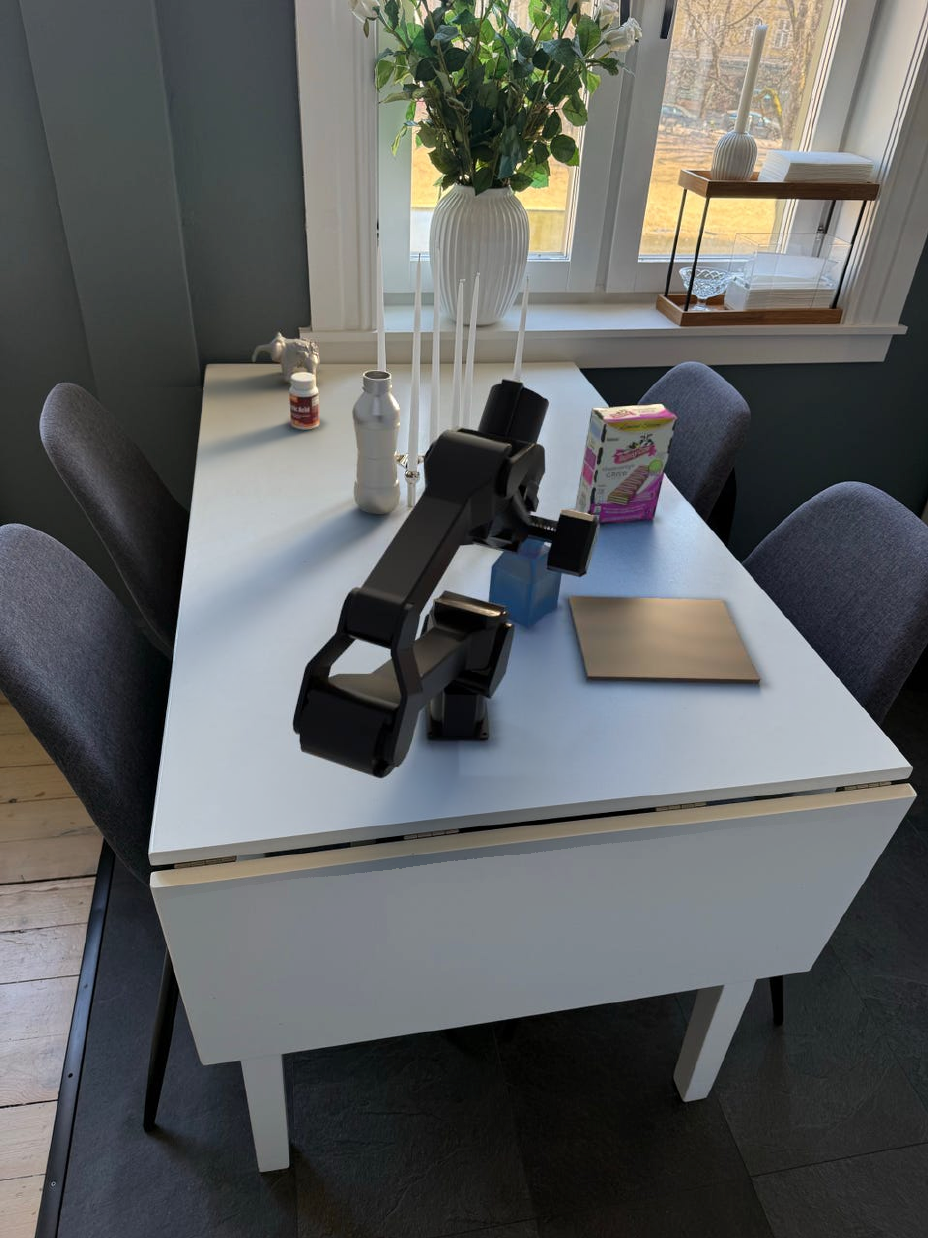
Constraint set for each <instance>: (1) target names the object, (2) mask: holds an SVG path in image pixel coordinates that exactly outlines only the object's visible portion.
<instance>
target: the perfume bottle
mask: <svg viewBox="0 0 928 1238" xmlns="http://www.w3.org/2000/svg"><path fill="white" fill-rule="evenodd" d="M532 526H535V523H534V524H533V525H532ZM537 527H538V525H537ZM540 527H541V528H542V525H541V526H540ZM544 528H545V529H546V526H545V527H544ZM545 543H546V542H543V541H539V540H535V539H530V538H527V539H526V540H525V542H524V543H522V544H521V547H520V551H519V554H518V555H516V554H511V553H507V552H503V551H502V553H500V555H499V556H498V558H497V559H496V560H495V561H494V562H493V563H492V565H491V570H490V580H489V591H488V601H487V602H490V603H494V604H497V605H501V606H504V607H505V611H508V612H509V613H510V617H509V620H511V621H513V622H515V623H517V624H518V625H521V626H522V627H524V628H526V629H530V628H531V627H532V626H534V625H535V624H536V623H537V622H539V621H540V620H542V619H544V617H546V616H547V615H548V614H550V613H551V612H552V611H554V610H555V609H557V608H558V604H559V598H560V597H559V596H560V591H561V583H562V577H563V573H559V572H555V571H551V570H547V559H548V553H549V550H550V546H549V545H547V544H545Z"/></svg>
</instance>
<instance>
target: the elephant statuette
mask: <svg viewBox="0 0 928 1238" xmlns="http://www.w3.org/2000/svg"><path fill="white" fill-rule="evenodd" d="M319 349H320V347H319V346H317V345H316V344H315V343H314V342H313V341H312V342H311V341H310V340H309V339H307V338H306V337H302V338H296V337H295V338H294V339H292V338H286V337H284V336H282V334H281V333H280V331H276V333H275V334H274V339H272V340H271V341H270V342H269V343H267V344H262V345H258V346H256V347H255V349H254V352H253V355H252V356H251V361H252V362H253V363H255V362H256V361H257V357H258V354H259V353H260V352H261V351H264V352H268V354H270V358H271V360H272V361H273V362H276V363H279V364H280V366H281V370H282V373H283V381H284V382H285V383H287V384H291V376H292V375H293V371H294V370H295V368H297V369H299V368H300V369H301V368H304V369H306V372H307V373H311V374H313V375H315V377H316V375H317V368H318V366H320V364H321V363H320V362H321V360H320V356H319ZM316 378H317V377H316Z"/></svg>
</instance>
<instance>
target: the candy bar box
mask: <svg viewBox="0 0 928 1238" xmlns="http://www.w3.org/2000/svg"><path fill="white" fill-rule="evenodd" d="M677 419H678V417H677V416H676V415H675V413H673V412H672V411H671V410H669V409H668V408H667V407H666V406H664V405H663V404H662V403H656V404H654V403H653V404H642V405H641V404H638V405H626V406H608V407H605V406H604V407H592V408H591V411H590V416H589V424H588V430H587V435H586V440H585V447H584V453H583V460H582V465H581V472H580V476H579V482H578V488H577V495H576V499H575V506H574V507H575V508H574V511H577V512H581V513H586V514H590V515H594V516H596V518H597V520H598V522H599V525H600V526H601V525H609V524H618V523H628V522H637V521H645V520H648V521H649V520H653V519H655V515H656V512H657V506H658V502H659V498H660V494H661V489H662V484H663V481H664V476H665V472H666V468H667V464H668V463H667V462H668V458H669V454H670V449H671V446H672V442H673V437H674V433H675V428H676V425H677V424H676V423H677Z"/></svg>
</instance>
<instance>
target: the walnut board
mask: <svg viewBox="0 0 928 1238" xmlns="http://www.w3.org/2000/svg"><path fill="white" fill-rule="evenodd" d="M567 602H568V604H569V605H568V606H569V609H570V614H571V618H572V622H573V627H574V631H575V634H576V639H577V643H578V644H577V645H578V647H579V652H580V656H581V661H582V664H583V669H584V674H585V677H586V680H587V681H605V682H608V681H609V682H653V683H654V682H656V683H658V682H661V683H704V684H705V683H706V684H707V683H708V684H709V683H710V684H711V683H712V684H760V682H761V678H760V675H759V674H758V672H757V670H756V667H755V665H754V663H753V661H752V659H751V656H750V654H749V653H748V651H747V647H746V646H745V643H744V642H743V640H742V638H741V636H740V634H739V631H738V629H737V627H736V625H735V623H734V621H733V619H732V616H731V614H730V612H729V611H728V608H727V606H726V604H725V602H724V600H723V599H702V598H701V599H699V598H698V599H697V598H663V597H626V596H625V597H621V596H587V595H583V596H581V595H568V597H567Z"/></svg>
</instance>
